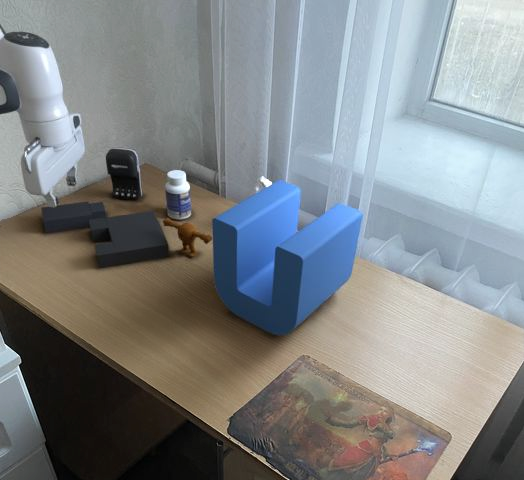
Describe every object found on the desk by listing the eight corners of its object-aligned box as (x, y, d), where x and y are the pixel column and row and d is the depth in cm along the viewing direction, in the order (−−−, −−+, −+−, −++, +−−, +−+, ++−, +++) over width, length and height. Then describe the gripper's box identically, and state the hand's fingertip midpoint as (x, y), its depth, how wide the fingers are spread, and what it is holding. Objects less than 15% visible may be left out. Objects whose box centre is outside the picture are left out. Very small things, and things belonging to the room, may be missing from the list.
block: (214, 303, 99) (212, 216, 87) (272, 261, 110) (277, 178, 98) (293, 345, 92) (303, 257, 80) (347, 296, 103) (363, 211, 90)
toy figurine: (160, 247, 112) (157, 218, 107) (172, 240, 114) (169, 211, 110) (205, 268, 107) (204, 238, 103) (216, 259, 110) (216, 230, 105)
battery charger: (110, 200, 126) (101, 152, 118) (115, 192, 128) (107, 145, 120) (139, 203, 125) (132, 155, 117) (143, 195, 128) (138, 148, 120)
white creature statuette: (230, 224, 120) (230, 173, 112) (262, 214, 123) (264, 165, 115) (252, 244, 114) (254, 192, 106) (285, 234, 118) (289, 183, 110)
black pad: (99, 268, 106) (97, 255, 104) (90, 232, 115) (88, 219, 113) (169, 256, 110) (168, 244, 108) (155, 222, 119) (154, 210, 117)
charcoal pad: (46, 233, 114) (43, 221, 112) (44, 219, 118) (41, 207, 116) (108, 224, 118) (106, 212, 116) (104, 211, 122) (102, 199, 120)
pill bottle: (184, 222, 120) (181, 181, 113) (163, 217, 121) (159, 176, 114) (195, 211, 123) (193, 171, 117) (174, 206, 125) (171, 166, 118)
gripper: (38, 152, 96) (55, 221, 105) (83, 111, 110) (95, 175, 120) (4, 149, 96) (25, 217, 106) (54, 108, 111) (69, 172, 121)
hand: (63, 194), depth 113 cm, fingers open, 8 cm apart
